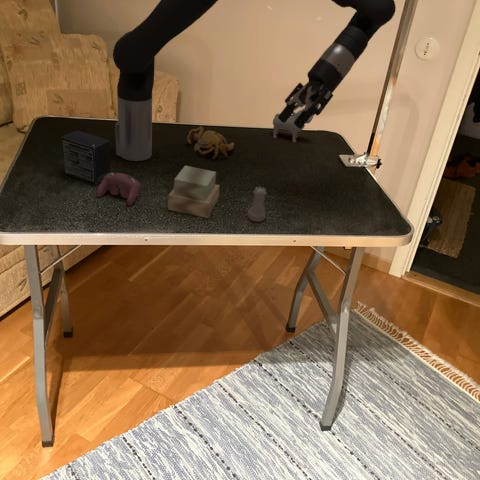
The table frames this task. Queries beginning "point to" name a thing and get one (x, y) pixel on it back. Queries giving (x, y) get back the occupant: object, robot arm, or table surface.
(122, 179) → the video game controller
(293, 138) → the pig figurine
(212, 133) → the crab model
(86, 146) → the small box
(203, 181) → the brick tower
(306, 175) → the table surface
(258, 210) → the rook chess piece
